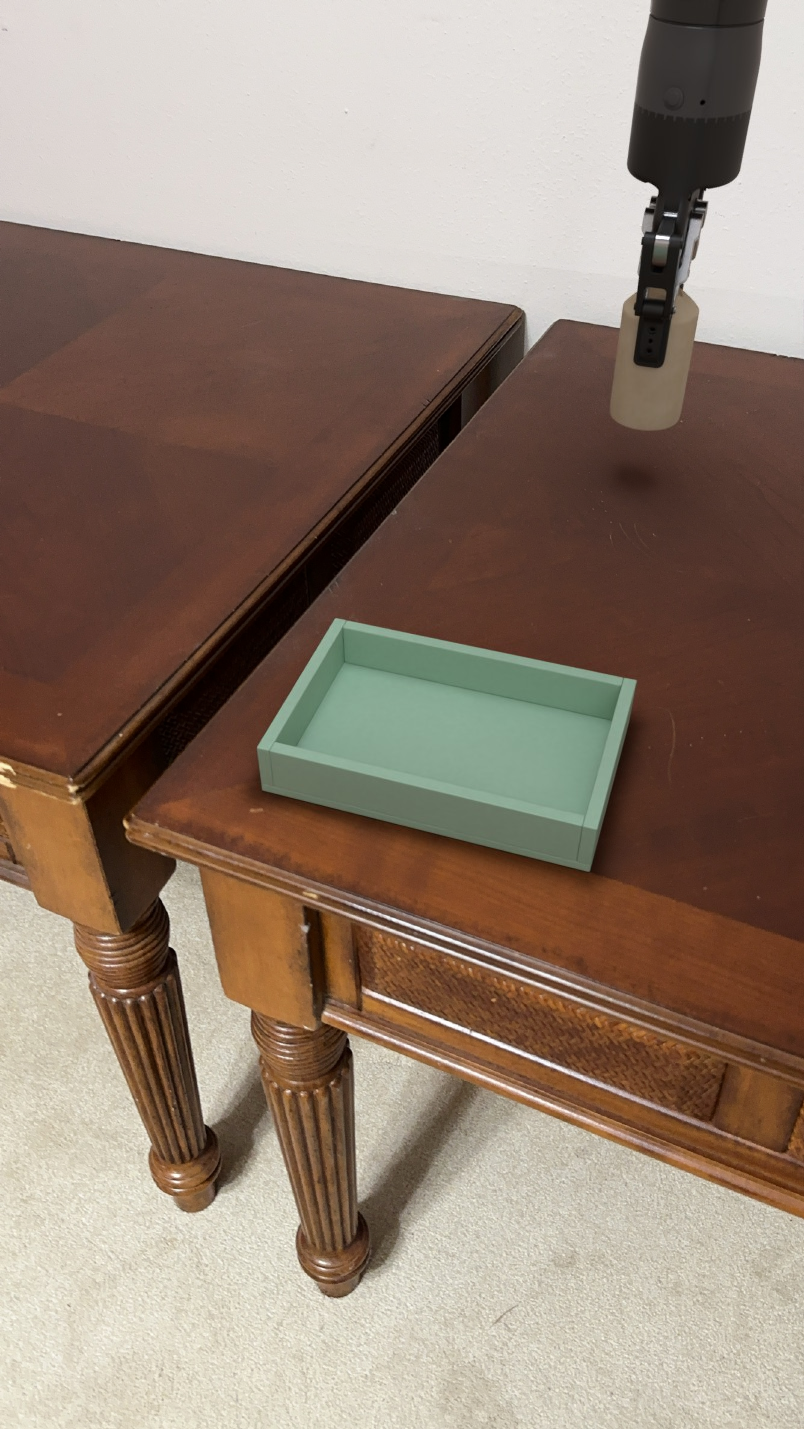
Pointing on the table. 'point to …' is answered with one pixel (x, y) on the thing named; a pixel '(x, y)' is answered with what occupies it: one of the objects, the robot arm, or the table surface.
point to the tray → (452, 741)
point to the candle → (653, 369)
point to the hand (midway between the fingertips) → (654, 346)
